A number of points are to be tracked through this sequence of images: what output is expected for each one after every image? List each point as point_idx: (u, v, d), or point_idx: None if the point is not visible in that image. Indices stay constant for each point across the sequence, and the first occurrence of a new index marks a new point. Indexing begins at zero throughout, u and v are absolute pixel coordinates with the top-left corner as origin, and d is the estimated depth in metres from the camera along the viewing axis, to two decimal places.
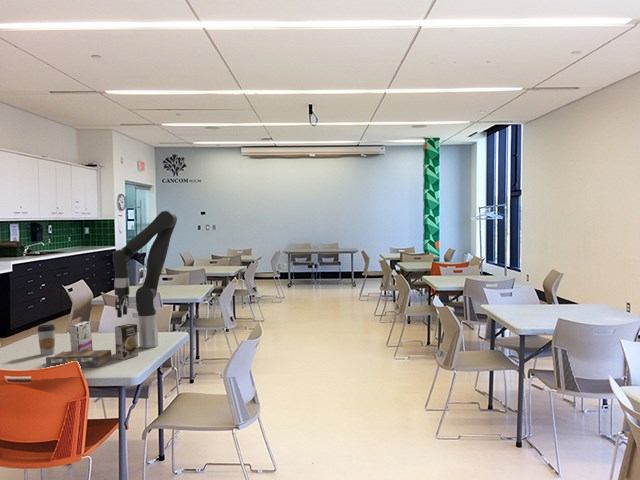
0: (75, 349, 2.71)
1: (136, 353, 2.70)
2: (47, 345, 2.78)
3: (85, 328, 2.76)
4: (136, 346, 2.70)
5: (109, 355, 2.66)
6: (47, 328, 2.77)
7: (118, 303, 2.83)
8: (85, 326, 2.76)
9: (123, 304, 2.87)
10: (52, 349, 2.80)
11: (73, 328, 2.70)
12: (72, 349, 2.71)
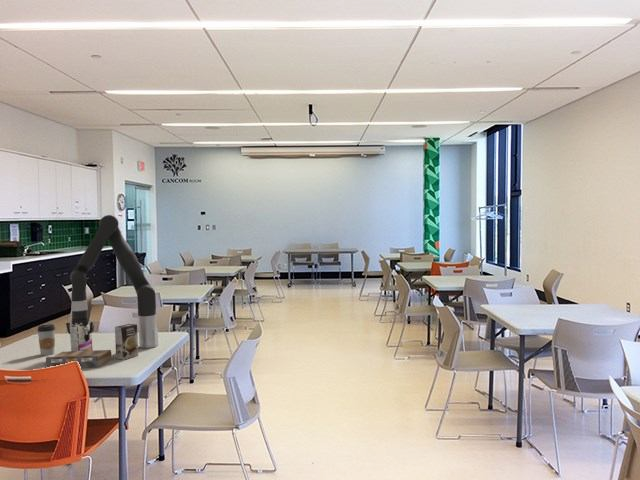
0: (75, 349, 2.71)
1: (136, 353, 2.70)
2: (47, 345, 2.78)
3: None
4: (136, 346, 2.70)
5: (109, 355, 2.66)
6: (47, 328, 2.77)
7: (93, 326, 2.76)
8: (86, 326, 2.76)
9: None
10: (52, 349, 2.80)
11: (73, 328, 2.70)
12: (72, 349, 2.71)
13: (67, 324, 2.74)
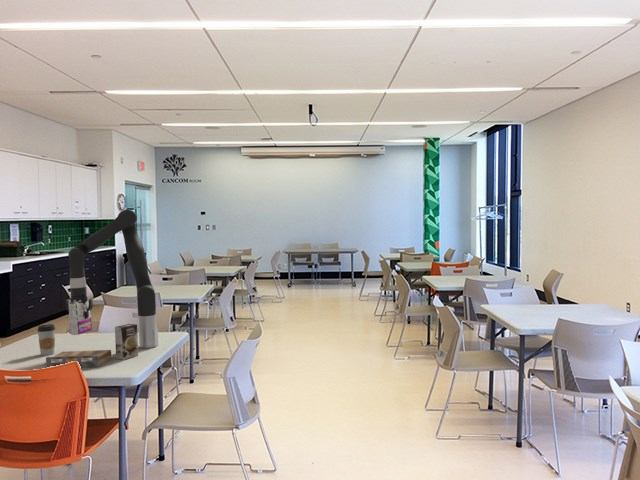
0: (74, 326, 2.70)
1: (136, 353, 2.70)
2: (47, 345, 2.78)
3: None
4: (136, 346, 2.70)
5: (109, 355, 2.66)
6: (47, 328, 2.77)
7: (92, 303, 2.76)
8: None
9: None
10: (52, 349, 2.80)
11: (72, 305, 2.70)
12: (71, 326, 2.71)
13: (66, 301, 2.74)
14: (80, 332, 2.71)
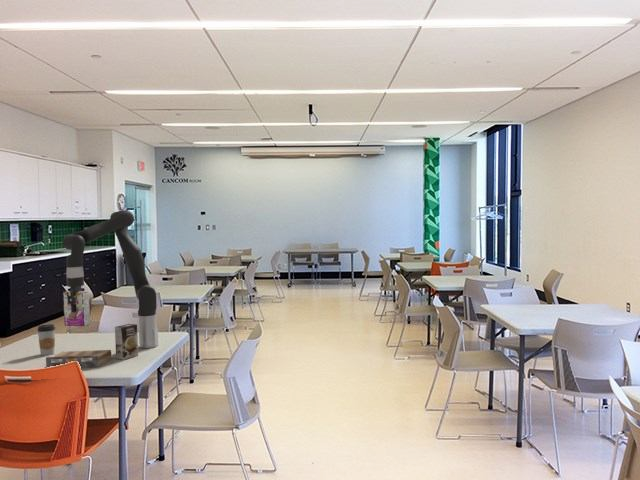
0: (87, 316, 2.58)
1: (136, 353, 2.70)
2: (47, 345, 2.78)
3: None
4: (136, 346, 2.70)
5: (109, 355, 2.66)
6: (47, 328, 2.77)
7: None
8: None
9: None
10: (52, 349, 2.80)
11: (86, 294, 2.58)
12: (85, 317, 2.57)
13: (72, 293, 2.53)
14: None
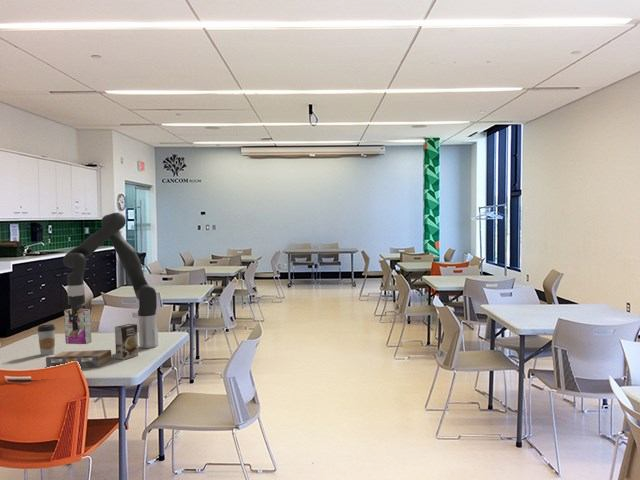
0: (88, 334, 2.58)
1: (136, 353, 2.70)
2: (47, 345, 2.78)
3: None
4: (136, 346, 2.70)
5: (109, 355, 2.66)
6: (47, 328, 2.77)
7: None
8: None
9: None
10: (52, 349, 2.80)
11: (87, 312, 2.58)
12: (86, 335, 2.57)
13: (73, 311, 2.53)
14: None
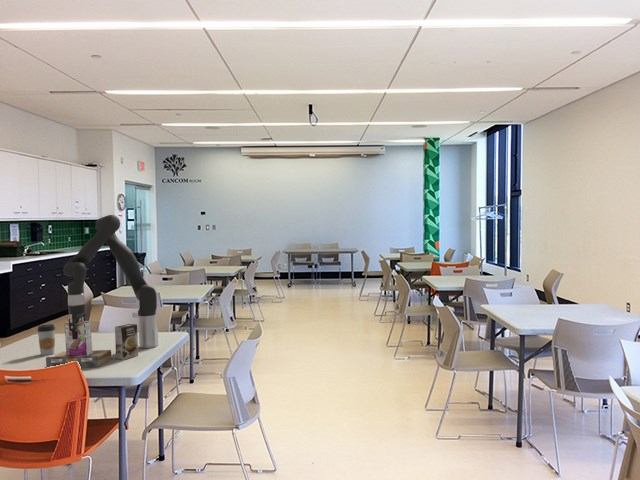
0: (89, 346, 2.59)
1: (136, 353, 2.70)
2: (47, 345, 2.78)
3: None
4: (136, 346, 2.70)
5: (109, 355, 2.66)
6: (47, 328, 2.77)
7: None
8: None
9: None
10: (52, 349, 2.80)
11: (88, 324, 2.58)
12: (87, 347, 2.57)
13: (74, 320, 2.53)
14: None
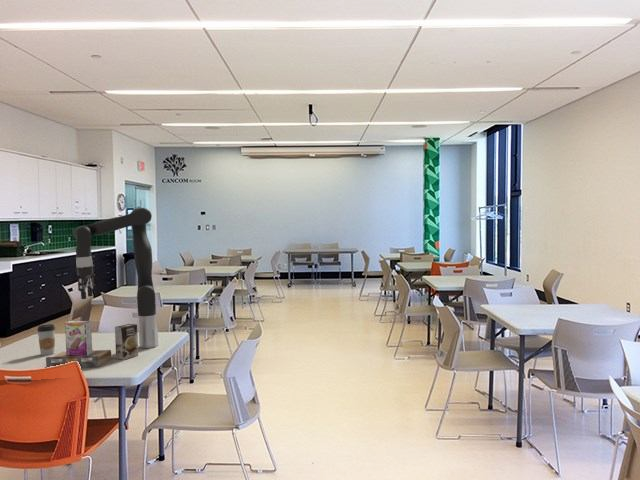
0: (89, 346, 2.59)
1: (136, 353, 2.70)
2: (47, 345, 2.78)
3: None
4: (136, 346, 2.70)
5: (109, 355, 2.66)
6: (47, 328, 2.77)
7: None
8: None
9: None
10: (52, 349, 2.80)
11: (88, 324, 2.58)
12: (87, 347, 2.57)
13: (83, 280, 2.64)
14: None
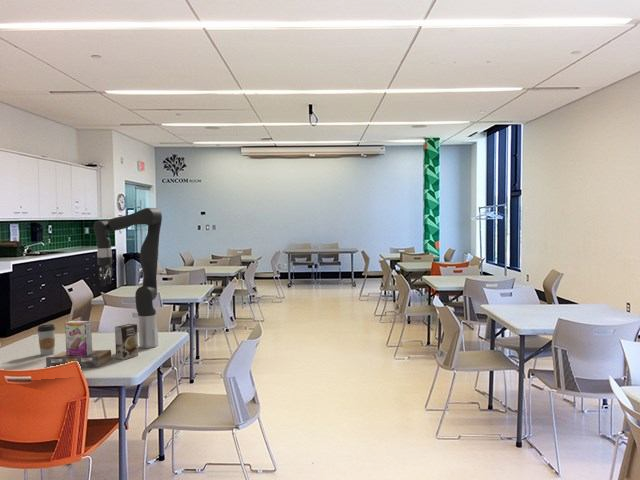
0: (89, 346, 2.59)
1: (136, 353, 2.70)
2: (47, 345, 2.78)
3: None
4: (136, 346, 2.70)
5: (109, 355, 2.66)
6: (47, 328, 2.77)
7: None
8: None
9: None
10: (52, 349, 2.80)
11: (88, 324, 2.58)
12: (87, 347, 2.57)
13: (103, 269, 2.93)
14: None
